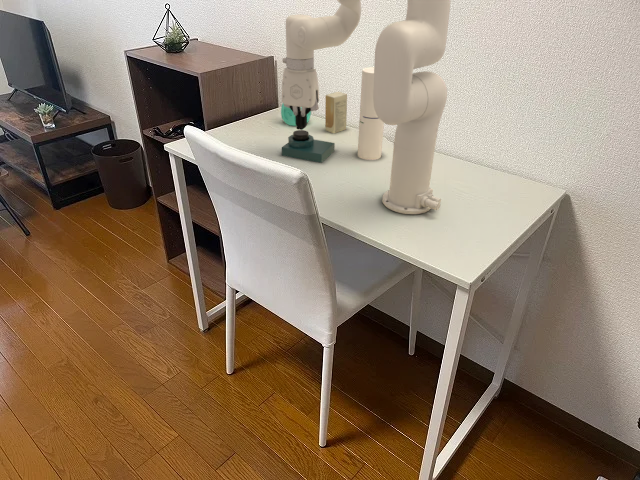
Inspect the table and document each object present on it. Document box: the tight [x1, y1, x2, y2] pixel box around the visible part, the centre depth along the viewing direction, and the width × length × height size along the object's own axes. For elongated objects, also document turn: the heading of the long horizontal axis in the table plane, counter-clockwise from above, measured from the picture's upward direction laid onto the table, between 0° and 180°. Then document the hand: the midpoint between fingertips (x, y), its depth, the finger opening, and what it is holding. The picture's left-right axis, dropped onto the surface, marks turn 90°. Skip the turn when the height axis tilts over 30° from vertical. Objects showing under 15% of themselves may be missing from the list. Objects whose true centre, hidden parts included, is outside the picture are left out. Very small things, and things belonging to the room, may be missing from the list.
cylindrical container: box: [357, 66, 385, 161], centre depth 141 cm, size 7×7×25 cm
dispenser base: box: [281, 134, 336, 164], centre depth 148 cm, size 13×10×4 cm
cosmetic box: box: [324, 91, 348, 134], centre depth 163 cm, size 6×4×12 cm
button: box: [292, 129, 310, 141], centre depth 147 cm, size 5×5×2 cm
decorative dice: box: [280, 102, 312, 127], centre depth 170 cm, size 8×8×8 cm
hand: (301, 127), depth 145 cm, fingers closed
